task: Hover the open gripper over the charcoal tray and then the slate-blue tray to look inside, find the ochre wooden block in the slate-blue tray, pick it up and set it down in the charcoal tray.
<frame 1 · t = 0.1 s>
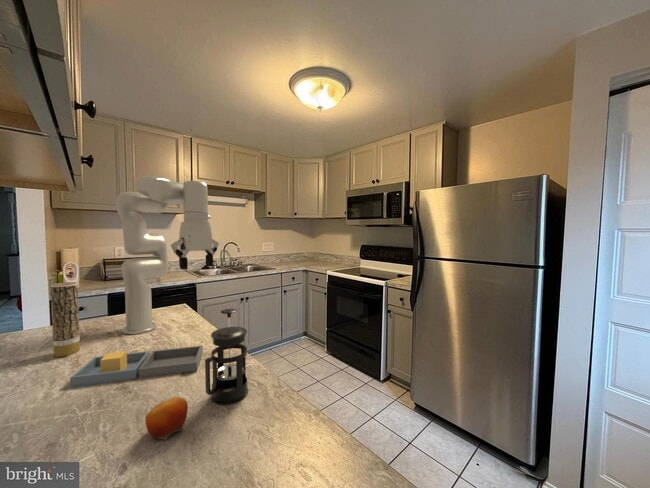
hand: (197, 267, 95), 31 cm above the countertop, tool pointing down, fingers open, 9 cm apart
fruit: (168, 431, 60), on the countertop
charcoal tray: (173, 365, 89), on the countertop
slate-blue tray: (114, 372, 84), on the countertop
paper tube: (67, 354, 97), on the countertop
french press: (228, 395, 73), on the countertop
ochre block: (114, 371, 84), resting on slate-blue tray
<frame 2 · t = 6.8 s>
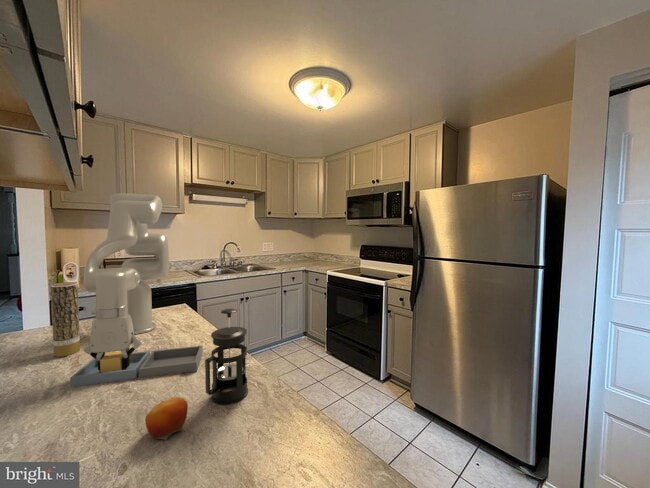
hand: (114, 369, 84), 1 cm above the countertop, tool pointing down, fingers closed on ochre block, 5 cm apart
ochre block: (114, 371, 84), resting on slate-blue tray, touching gripper
everything else where it was.
when the fingers open (2 cm above the countertop, at t = 13.1 s): ochre block drops 2 cm, resting on charcoal tray.
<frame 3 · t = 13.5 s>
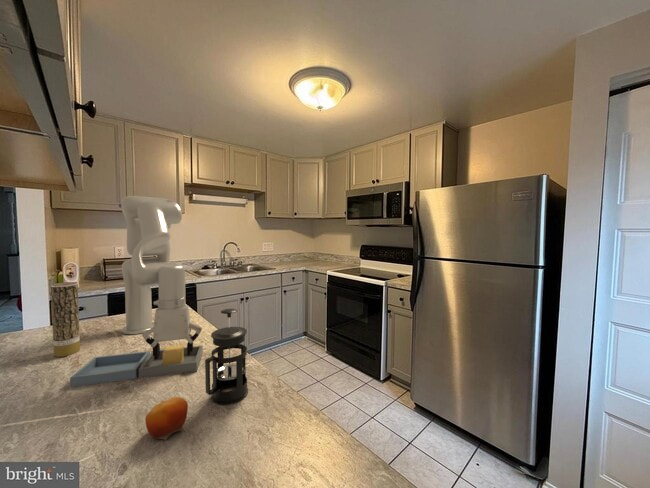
hand: (173, 355, 89), 3 cm above the countertop, tool pointing down, fingers open, 9 cm apart
ochre block: (173, 364, 89), resting on charcoal tray
everything else where it was.
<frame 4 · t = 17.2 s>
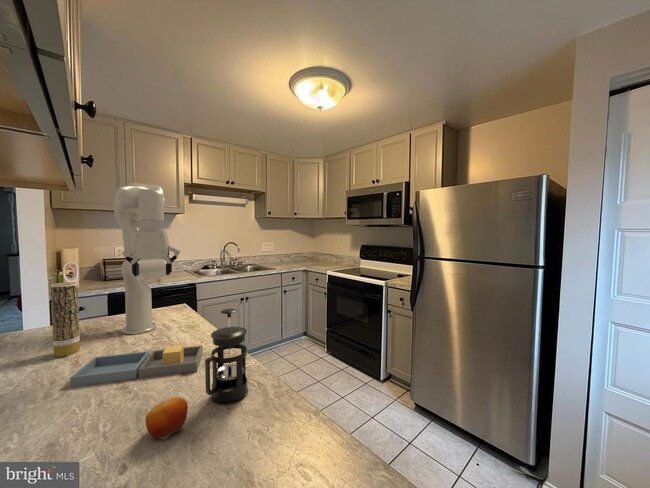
hand: (152, 275, 95), 28 cm above the countertop, tool pointing down, fingers open, 9 cm apart
nothing on the countertop moved.
at the end: ochre block inside the target area on the charcoal tray (0.0 cm from its centre), point 0.4 cm above the charcoal tray's base; the gripper is holding nothing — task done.
